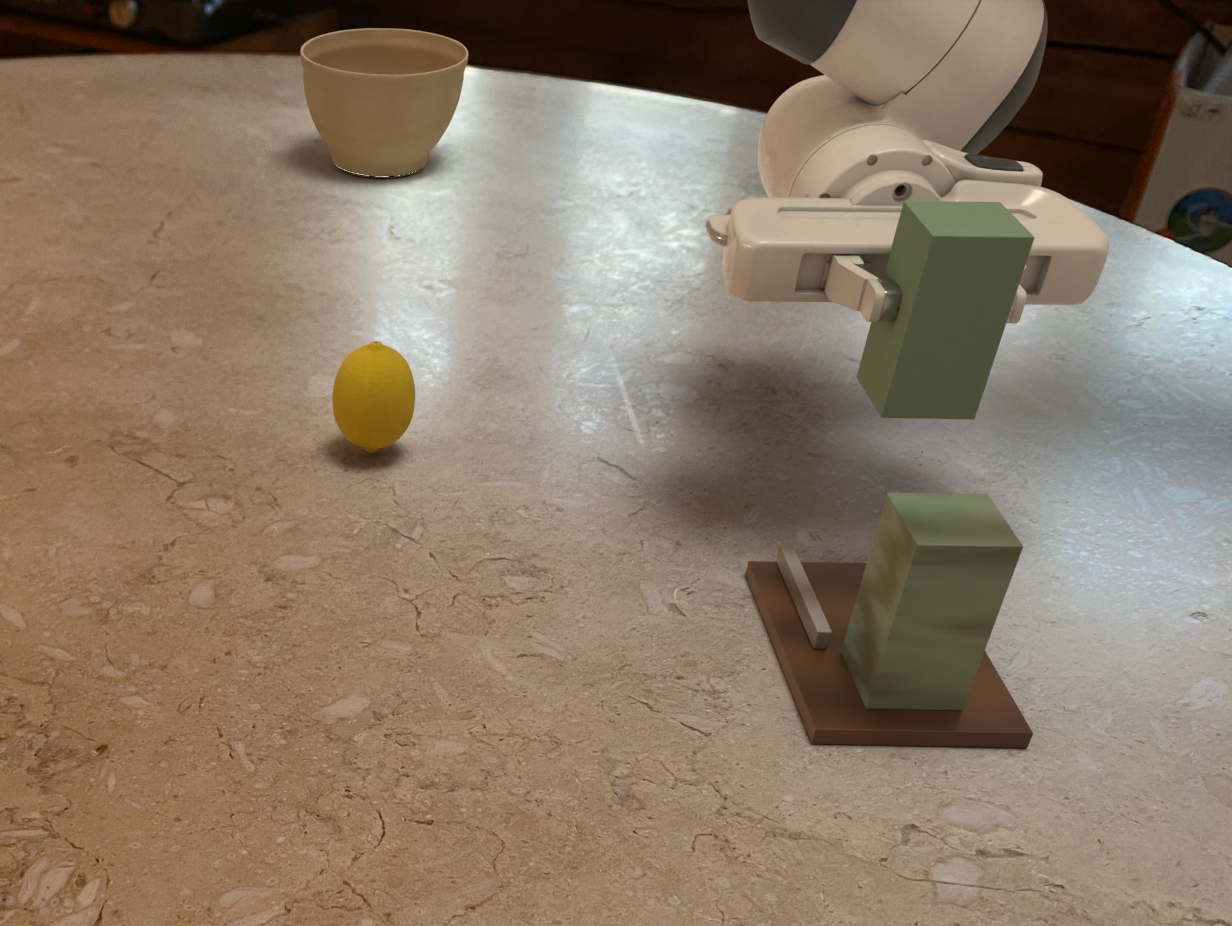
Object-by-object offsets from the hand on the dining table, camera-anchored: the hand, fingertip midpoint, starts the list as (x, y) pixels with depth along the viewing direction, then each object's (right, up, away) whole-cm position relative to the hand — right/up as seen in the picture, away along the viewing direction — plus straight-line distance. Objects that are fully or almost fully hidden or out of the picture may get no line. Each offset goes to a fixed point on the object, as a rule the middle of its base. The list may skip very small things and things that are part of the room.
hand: (948, 309), depth 76 cm
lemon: (-29, -3, +24) cm, 37 cm away
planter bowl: (-25, +34, +70) cm, 82 cm away
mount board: (-2, -19, +4) cm, 19 cm away
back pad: (0, -4, +4) cm, 6 cm away
